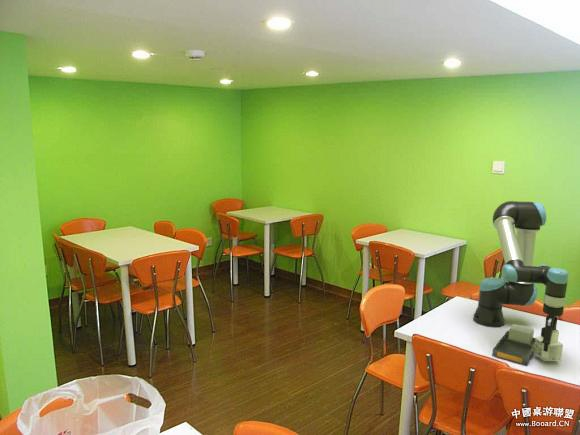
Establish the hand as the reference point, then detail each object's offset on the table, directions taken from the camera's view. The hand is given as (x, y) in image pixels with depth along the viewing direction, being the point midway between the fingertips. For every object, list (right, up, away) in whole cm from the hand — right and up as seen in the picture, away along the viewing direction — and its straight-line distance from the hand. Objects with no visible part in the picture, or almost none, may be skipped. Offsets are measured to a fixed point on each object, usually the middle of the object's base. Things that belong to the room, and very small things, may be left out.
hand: (547, 352), depth 195 cm
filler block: (-3, +1, +16) cm, 16 cm away
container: (0, -2, 0) cm, 2 cm away
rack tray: (-8, -2, +10) cm, 13 cm away
